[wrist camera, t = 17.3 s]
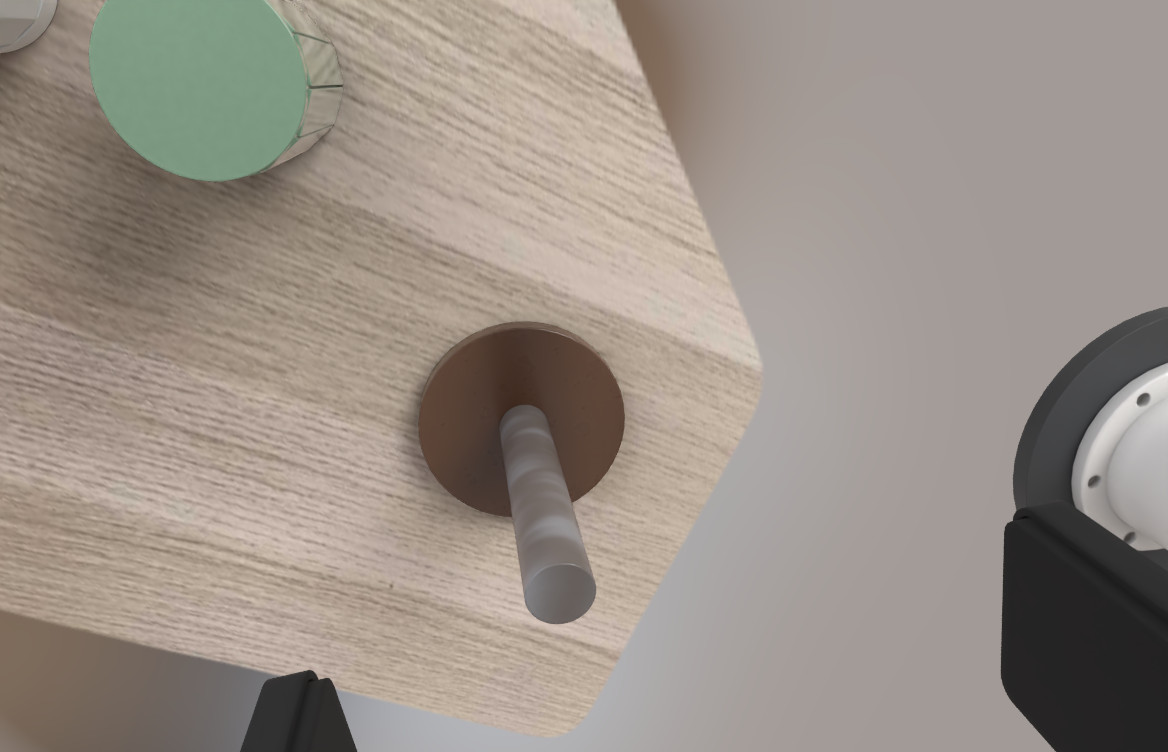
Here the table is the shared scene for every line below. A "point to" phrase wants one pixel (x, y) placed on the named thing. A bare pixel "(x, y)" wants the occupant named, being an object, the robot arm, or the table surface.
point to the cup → (23, 22)
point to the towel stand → (527, 446)
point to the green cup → (214, 83)
